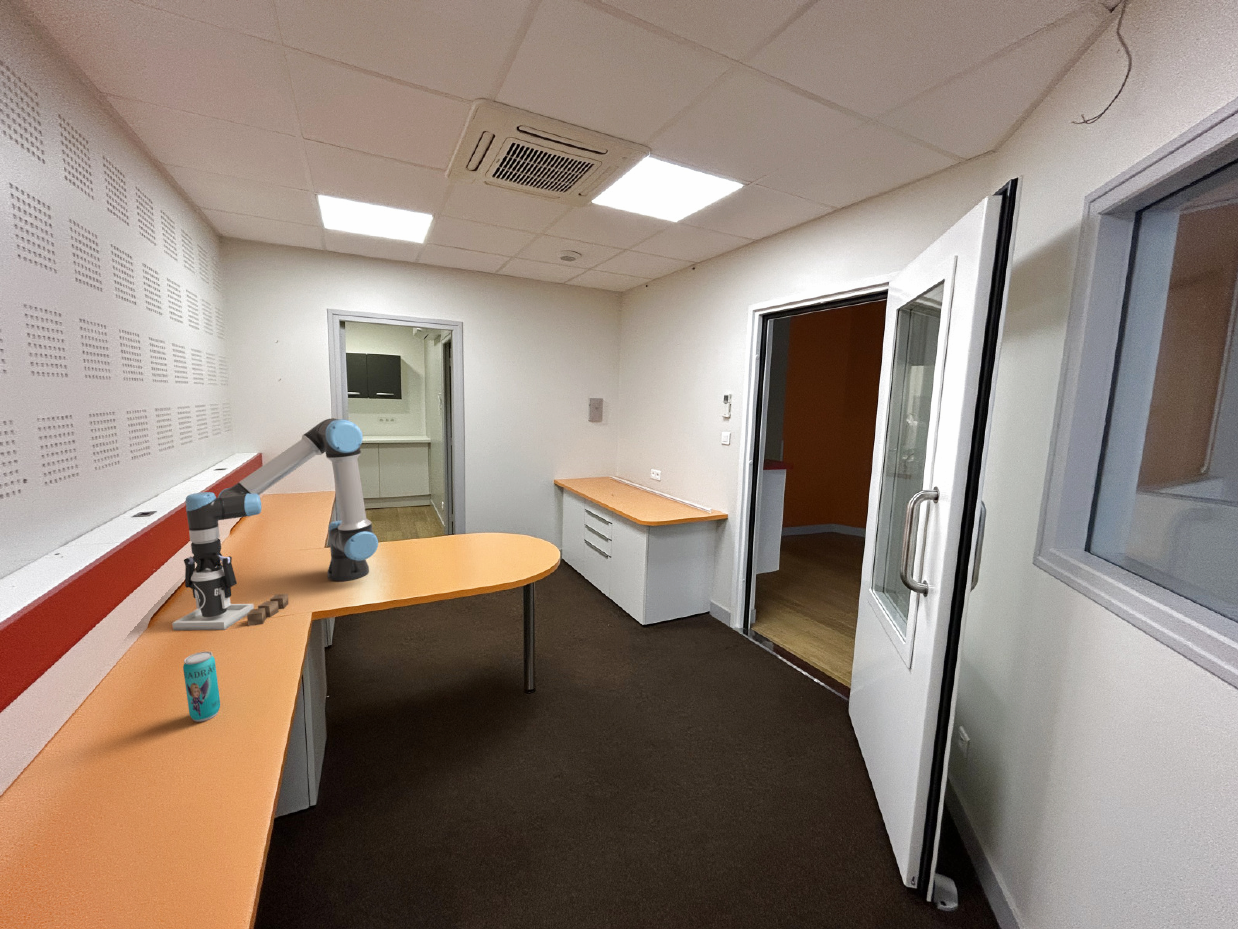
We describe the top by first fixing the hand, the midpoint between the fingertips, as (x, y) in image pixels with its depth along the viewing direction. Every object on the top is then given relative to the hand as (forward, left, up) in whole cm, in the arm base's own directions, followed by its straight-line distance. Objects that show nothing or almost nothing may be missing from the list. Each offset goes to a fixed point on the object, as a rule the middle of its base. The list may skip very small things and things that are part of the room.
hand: (213, 606), depth 171 cm
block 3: (-15, -10, -5) cm, 19 cm away
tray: (0, 0, -5) cm, 5 cm away
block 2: (-15, -4, -5) cm, 16 cm away
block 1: (-15, +2, -5) cm, 16 cm away
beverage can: (-35, +51, -5) cm, 62 cm away
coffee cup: (0, 0, -2) cm, 2 cm away
